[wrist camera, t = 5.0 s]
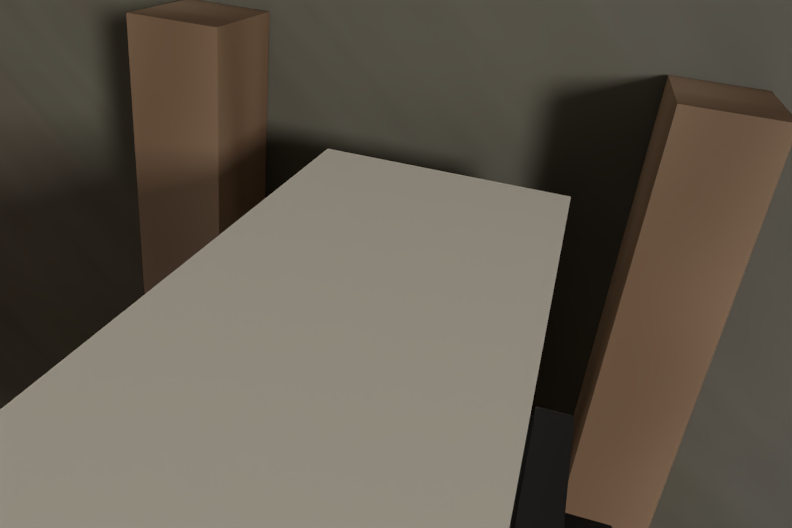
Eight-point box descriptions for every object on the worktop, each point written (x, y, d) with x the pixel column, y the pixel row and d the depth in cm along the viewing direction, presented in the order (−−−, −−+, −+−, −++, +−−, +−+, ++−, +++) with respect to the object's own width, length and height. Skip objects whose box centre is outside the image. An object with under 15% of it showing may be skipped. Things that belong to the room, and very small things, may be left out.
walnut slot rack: (772, 90, 12) (799, 124, 10) (604, 569, 17) (604, 646, 15) (188, -1, 13) (126, 12, 12) (201, 454, 19) (158, 510, 17)
